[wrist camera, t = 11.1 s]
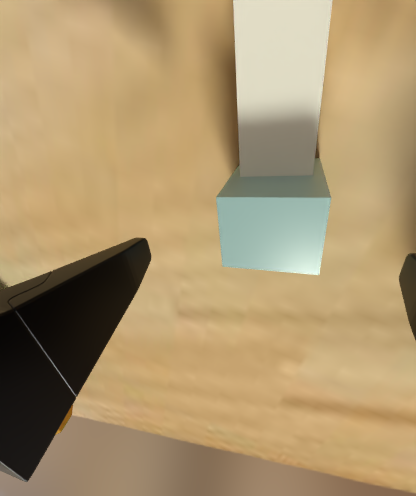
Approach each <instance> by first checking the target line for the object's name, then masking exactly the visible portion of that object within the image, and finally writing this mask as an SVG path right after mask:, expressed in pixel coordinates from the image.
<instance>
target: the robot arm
mask: <svg viewBox="0 0 416 496" xmlns="http://www.w3.org/2000/svg"><path fill="white" fill-rule="evenodd" d="M150 261H151V253H150V249H149V245H148V242H147V240H146V239H145V238H134V239H131V240H129V241H126V242H124V243H121V244H119V245H116V246H114V247H111V248H108V249H106V250H103V251H101V252H98V253H96V254H93V255H91V256H88V257H86V258H83V259H81V260H78V261H76V262H73V263H71V264H68V265H66V266H63V267H61V268H58V269H56V270H53V271H50V272H48V273H45V274H43V275H40V276H38V277H35V278H32V279H30V280H27V281H25V282H22V283H19V284H16V285H14V286H11V287H8V288H5V289H2V290H0V471H2V472H5V473H7V474H9V475H11V476H13V477H16V478H18V479H20V480H22V481H25V482H27V481H28V480H29V478H30V477H31V476H32V474H33V473H34V471H35V469H36V467H37V466H38V464H39V462H40V460H41V459H42V457H43V455H44V453H45V452H46V450H47V448H48V446H49V445H50V443H51V441H52V439H53V438H54V436H55V434H56V433H57V431H58V429H59V427H60V426H61V424H62V422H63V420H64V419H65V417H66V415H67V413H68V412H69V410H70V408H71V406H72V405H73V403H74V401H75V399H76V397H77V396H78V394H79V392H80V390H81V389H82V387H83V385H84V383H85V382H86V380H87V378H88V376H89V375H90V373H91V371H92V369H93V368H94V366H95V364H96V362H97V361H98V359H99V357H100V355H101V354H102V352H103V350H104V348H105V347H106V345H107V343H108V341H109V340H110V338H111V336H112V334H113V333H114V331H115V329H116V328H117V326H118V324H119V322H120V321H121V319H122V317H123V315H124V314H125V312H126V310H127V308H128V307H129V305H130V303H131V301H132V300H133V298H134V296H135V294H136V292H137V291H138V288H139V286H140V284H141V282H142V280H143V277H144V275H145V273H146V270H147V268H148V266H149V264H150ZM399 282H400V287H401V291H402V295H403V299H404V303H405V308H406V312H407V316H408V320H409V323H410V326H411V329H412V332H413V335H414V337H415V340H416V253H410V254H408V255H407V257H406V259H405V262H404V264H403V267H402V270H401V272H400V276H399Z"/></svg>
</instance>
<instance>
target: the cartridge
mask: <svg viewBox="0 0 416 496" xmlns="http://www.w3.org/2000/svg"><path fill="white" fill-rule="evenodd" d="M233 6H234V32H235V57H236V83H237V109H238V135H239V161H240V164H239V165H238V167H237V168H236V170H235V171H234V173H233V174H232V175H231V177H230V178H229V180H228V181H227V183H226V184H225V185H224V187H223V188H222V190H221V191H220V193H219V194H218V195H217V197H216V200H217V211H218V222H219V233H220V244H221V255H222V265H223V267H234V268H245V269H256V270H268V271H279V272H290V273H302V274H313V275H319V272H320V266H321V259H322V253H323V246H324V240H325V234H326V227H327V221H328V215H329V208H330V202H331V196H330V192H329V189H328V185H327V182H326V178H325V175H324V171H323V168H322V164H321V161H320V158H315V152H316V143H317V134H318V125H319V116H320V107H321V98H322V89H323V80H324V71H325V62H326V53H327V44H328V35H329V26H330V17H331V8H332V0H233Z"/></svg>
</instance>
